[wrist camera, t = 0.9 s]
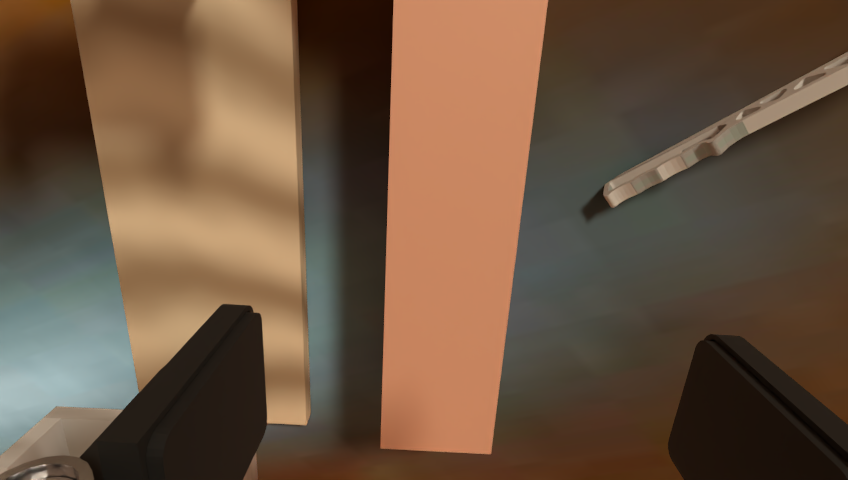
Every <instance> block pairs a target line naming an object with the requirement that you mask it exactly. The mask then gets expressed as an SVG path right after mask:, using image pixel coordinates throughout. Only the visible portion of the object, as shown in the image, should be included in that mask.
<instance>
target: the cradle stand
mask: <svg viewBox="0 0 848 480" xmlns="http://www.w3.org/2000/svg"><path fill="white" fill-rule="evenodd" d="M71 6H72V12H73V17H74V23H75V29H76V35H77V40H78V46H79V52H80V57H81V63H82V69H83V75H84V80H85V86H86V92H87V97H88V103H89V109H90V115H91V120H92V126H93V132H94V137H95V143H96V149H97V155H98V160H99V166H100V172H101V177H102V183H103V189H104V195H105V200H106V206H107V212H108V217H109V223H110V229H111V234H112V240H113V246H114V252H115V257H116V263H117V269H118V274H119V280H120V286H121V292H122V297H123V303H124V309H125V314H126V320H127V326H128V332H129V337H130V343H131V349H132V354H133V360H134V366H135V372H136V377H137V383H138V389H139V392H140V391H141V390H142V389H143V388H144V387H145V386H146V385H147V384H148V383H149V381H150V380H151V379H152V378H153V377H154V376H155V375H156V374H157V373H158V372H159V371H160V370H161V369H162V368H163V367H164V366H165V365H166V364H167V363H168V362H169V361H170V360H171V359H172V358H173V357H174V356H175V354H176V353H177V352H178V351H179V350H180V349H181V348H182V347H183V346H184V345H185V344H186V342H187V341H188V340H189V339H190V338H191V337H192V336H193V335H194V334H195V333H196V332H197V330H198V329H199V328H200V327H201V326H202V325H203V324H204V323H205V322H206V321H207V320H208V319H209V317H210V316H211V315H212V314H213V313H214V312H215V311H216V310H217V309H218V308H219V307H220V306H221V305H222V304H235V305H250V306H251V307H252V308H253V311H254V313H260V314H261V317H262V331H263V349H264V368H265V386H266V404H267V423H274V424H294V425H307V422H308V419H309V417H310V414H311V407H310V377H309V346H308V316H307V286H306V255H305V225H304V195H303V164H302V134H301V104H300V74H299V43H298V13H297V0H71ZM122 411H123V410H117V409H97V408H77V407H57V406H56V407H55V408H54V409H53V410H52V411H51V412H50V413H48V414H47V415H46V416H45V417H44V418H43V419H42V420H41V421H39V422H38V423H37V424H36V425H35V426H34V427H33V428H31V429H30V430H29V431H28V432H27V433H26V434H25V435H24V436H22V437H21V438H20V439H19V440H18V441H17V442H16V443H14V444H13V445H12V446H11V447H10V448H9V449H8V450H7V451H5V452H4V453H3V454H2V455H1V456H0V474H2V473H3V472H5V471H7V470H9V469H12V468H14V467H16V466H19V465H21V464H23V463H26V462H29V461H33V460H36V459H40V458H44V457H50V456H60V455H66V456H73V457H78V458H79V457H80V456H81V455H82V454H83V453H84V452H85V451H86V450H87V449H88V448H89V447H90V445H91V444H92V443H93V442H94V441H95V440H96V439H97V438H98V437H99V436H100V435H101V434H102V432H103V431H104V430H105V429H106V428H107V427H108V426H109V425H110V424H111V423H112V422H113V420H114V419H115V418H116V417H117V416H118V415H119V414H120V413H121V412H122ZM243 480H258V471H257V459H256V453H255V455H254V457H253V459H252V462H251V464H250V466H249V468H248V470H247V472H246V475H245V477H244V479H243Z"/></svg>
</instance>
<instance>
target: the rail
mask: <svg viewBox="0 0 848 480" xmlns="http://www.w3.org/2000/svg"><path fill="white" fill-rule="evenodd" d="M547 5H548V0H394V5H393V39H392V73H391V107H390V141H389V175H388V209H387V243H386V277H385V311H384V345H383V380H382V414H381V449H400V450H419V451H439V452H458V453H478V454H491V448H492V440H493V432H494V425H495V417H496V409H497V401H498V393H499V385H500V377H501V369H502V361H503V353H504V345H505V337H506V329H507V322H508V314H509V306H510V298H511V290H512V282H513V274H514V266H515V258H516V250H517V242H518V234H519V226H520V219H521V211H522V203H523V195H524V187H525V179H526V171H527V163H528V155H529V147H530V139H531V131H532V123H533V115H534V108H535V100H536V92H537V84H538V76H539V68H540V60H541V52H542V44H543V36H544V28H545V20H546V12H547Z"/></svg>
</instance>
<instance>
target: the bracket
mask: <svg viewBox="0 0 848 480" xmlns="http://www.w3.org/2000/svg"><path fill="white" fill-rule="evenodd" d="M847 85H848V52H847V53H845V54H843V55H841V56H839V57H837V58H836V59H834V60H832V61H830V62H828V63H826V64H824V65H823V66H821V67H819V68H817V69H815V70H813V71H811V72H810V73H808V74H806V75H804V76H802V77H800V78H798V79H797V80H795V81H793V82H791V83H789V84H787V85H785V86H784V87H782V88H780V89H778V90H776V91H774V92H772V93H771V94H769V95H767V96H765V97H763V98H761V99H759V100H758V101H756V102H754V103H752V104H750V105H748V106H746V107H745V108H743V109H741V110H739V111H737V112H735V113H733V114H732V115H730V116H728V117H726V118H724V119H722V120H720V121H719V122H717V123H715V124H713V125H711V126H709V127H707V128H706V129H704V130H702V131H700V132H698V133H696V134H694V135H693V136H691V137H689V138H687V139H685V140H683V141H681V142H680V143H678V144H676V145H674V146H672V147H670V148H668V149H666V150H665V151H663V152H661V153H659V154H657V155H655V156H653V157H652V158H650V159H648V160H646V161H644V162H642V163H640V164H639V165H637V166H635V167H633V168H631V169H629V170H627V171H626V172H624V173H622V174H620V175H618V176H617V177H615V178H614V179H612V180H611V181H609V182H608V183H606V184H605V186H604V192H603V196H604V197H605V199H606V200H607V202H608V203H609V205H610V207H612V208H613V207H615V206H617V205H618V204H619V203H621V202H622V201H624V200H626V199H628V198H630V197H632V196H635V195H637V194H639V193H641V192H642V191H644V190H645V189H647V188H649V187H651V186H653V185H655V184H658V183H660V182H663V181H664V180H666V179H667V178H669V177H670V176H672V175H674V174H676V173H678V172H680V171H682V170H684V169H687V168H689V167H691V166H692V165H693V164H695V163H696V162H698V161H700V160H701V159H703V158H705V157H708V156H711V155H714V156H718V155H720V154H722V153H723V152H724V151H725V150H726V149H727V148H728V147H729V146H731V145H732V144H734V143H735V142H736V141H738V140H740V139H741V138H743V137H745V136H747V135H748V134H750V133H752V132H754V131H756V130H758V129H760V128H762V127H764V126H766V125H768V124H770V123H772V122H774V121H776V120H778V119H780V118H782V117H784V116H786V115H788V114H790V113H792V112H794V111H796V110H798V109H800V108H802V107H804V106H806V105H808V104H810V103H812V102H814V101H816V100H818V99H820V98H822V97H824V96H826V95H829V94H831V93H833V92H835V91H837V90H839V89H841V88H843V87H845V86H847Z"/></svg>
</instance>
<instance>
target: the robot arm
mask: <svg viewBox="0 0 848 480" xmlns="http://www.w3.org/2000/svg"><path fill="white" fill-rule="evenodd" d="M266 425H267V404H266V386H265V368H264V349H263V331H262V317H261V314H260V313H254V311H253V308H252V307H251V306H250V305H235V304H222V305H221V306H220V307H219V308H218V309H217V310H216V311H215V312H214V313H213V314H212V315H211V316H210V317H209V319H208V320H207V321H206V322H205V323H204V324H203V325H202V326H201V327H200V328H199V329H198V330H197V332H196V333H195V334H194V335H193V336H192V337H191V338H190V339H189V340H188V341H187V342H186V344H185V345H184V346H183V347H182V348H181V349H180V350H179V351H178V352H177V353H176V354H175V356H174V357H173V358H172V359H171V360H170V361H169V362H168V363H167V364H166V365H165V366H164V367H163V368H162V369H161V370H160V371H159V372H158V373H157V374H156V375H155V376H154V377H153V378H152V379H151V380H150V381H149V383H148V384H147V385H146V386H145V387H144V388H143V389H142V390H141V391H140V392H139V393H138V394H137V396H136V397H135V398H134V399H133V400H132V401H131V402H130V403H129V404H128V405H127V406H126V407H125V409H124V410H123V411H122V412H121V413H120V414H119V415H118V416H117V417H116V418H115V419H114V420H113V422H112V423H111V424H110V425H109V426H108V427H107V428H106V429H105V430H104V431H103V432H102V434H101V435H100V436H99V437H98V438H97V439H96V440H95V441H94V442H93V443H92V444H91V445H90V447H89V448H88V449H87V450H86V451H85V452H84V453H83V454H82V455H81V456H80V457H79V458H78V457H73V456H66V455H60V456H50V457H44V458H40V459H36V460H33V461H29V462H26V463H23V464H21V465H19V466H16V467H14V468H12V469H9V470H7V471H5V472H3V473H2V474H0V480H243V479H244V477H245V475H246V472H247V470H248V468H249V466H250V464H251V462H252V459H253V457H254V455H255V453H256V451H257V449H258V446H259V444H260V442H261V440H262V438H263V436H264V433H265V429H266ZM668 449H669V454H670V457H671V459H672V461H673V463H674V464H675V466H676V467H677V469H678V471H679V472H680V474H681V475H682V477H683V479H684V480H848V425H847V424H846V423H845V422H844V421H842V420H841V419H840V418H839V417H838V416H836V415H835V414H834V413H833V412H832V411H830V410H829V409H828V408H827V407H826V406H824V405H823V404H822V403H821V402H820V401H818V400H817V399H816V398H815V397H814V396H812V395H811V394H810V393H809V392H808V391H806V390H805V389H804V388H803V387H801V386H800V385H799V384H798V383H797V382H795V381H794V380H793V379H792V378H791V377H789V376H788V375H787V374H786V373H785V372H783V371H782V370H781V369H780V368H779V367H777V366H776V365H775V364H774V363H773V362H771V361H770V360H769V359H768V358H767V357H765V356H764V355H763V354H762V353H761V352H759V351H758V350H757V349H756V348H755V347H753V346H752V345H751V344H750V343H748V342H747V341H746V340H745V339H744V338H742V337H740V336H730V335H714V334H710V335H708V336H707V337H706V338H705V339H704V341H703V340H702V341H700V342H699V343H698V344H697V346H696V348H695V352H694V355H693V359H692V362H691V365H690V369H689V372H688V376H687V379H686V383H685V386H684V389H683V393H682V396H681V400H680V403H679V407H678V410H677V414H676V417H675V420H674V424H673V427H672V431H671V434H670V438H669V442H668Z"/></svg>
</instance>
